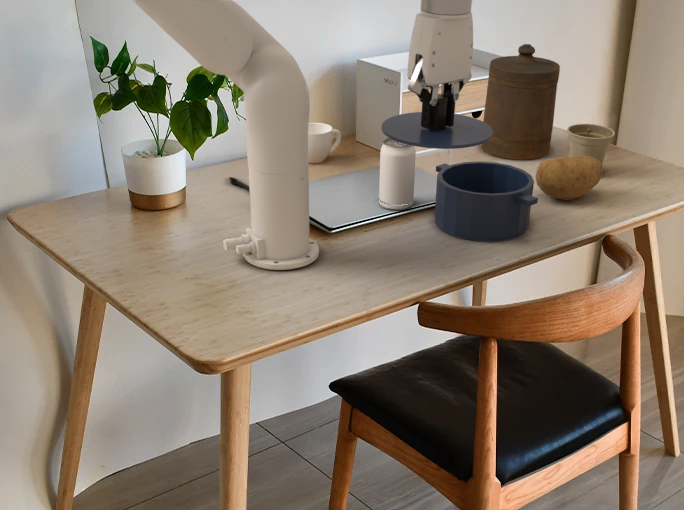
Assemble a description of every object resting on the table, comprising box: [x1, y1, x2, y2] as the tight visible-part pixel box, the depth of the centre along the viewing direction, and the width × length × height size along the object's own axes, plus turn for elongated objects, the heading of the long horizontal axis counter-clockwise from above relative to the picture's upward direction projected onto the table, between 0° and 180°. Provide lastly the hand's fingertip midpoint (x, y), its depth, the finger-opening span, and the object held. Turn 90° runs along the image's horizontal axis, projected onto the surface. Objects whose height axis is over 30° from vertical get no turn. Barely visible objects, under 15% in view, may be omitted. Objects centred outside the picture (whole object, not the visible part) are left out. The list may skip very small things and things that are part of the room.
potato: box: [535, 155, 604, 201], centre depth 175 cm, size 10×14×8 cm
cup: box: [308, 122, 342, 164], centre depth 192 cm, size 8×10×7 cm
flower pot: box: [566, 123, 616, 165], centre depth 187 cm, size 9×9×9 cm
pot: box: [434, 160, 539, 243], centre depth 164 cm, size 17×22×8 cm
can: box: [378, 137, 417, 211], centre depth 170 cm, size 6×6×12 cm
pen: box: [228, 177, 250, 193], centre depth 178 cm, size 14×2×1 cm, turn 38°
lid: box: [380, 93, 493, 150], centre depth 145 cm, size 18×18×6 cm
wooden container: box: [480, 43, 561, 161], centre depth 195 cm, size 15×15×22 cm
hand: (437, 125), depth 146 cm, fingers closed on lid, 2 cm apart
